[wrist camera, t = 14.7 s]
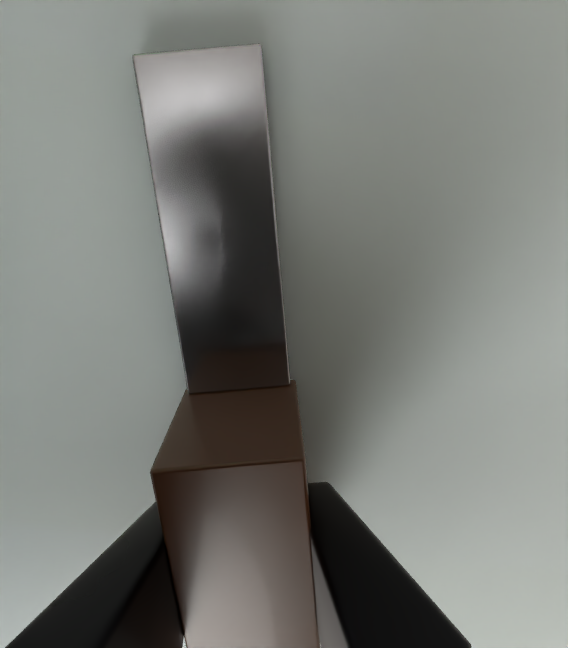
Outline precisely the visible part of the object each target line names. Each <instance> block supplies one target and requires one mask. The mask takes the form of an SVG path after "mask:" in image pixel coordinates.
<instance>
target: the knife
mask: <svg viewBox="0 0 568 648" xmlns="http://www.w3.org/2000/svg"><path fill="white" fill-rule="evenodd" d="M132 59H133V65H134V71H135V77H136V83H137V89H138V95H139V101H140V107H141V113H142V119H143V125H144V131H145V137H146V143H147V149H148V155H149V161H150V167H151V173H152V179H153V185H154V191H155V197H156V203H157V209H158V215H159V221H160V227H161V233H162V239H163V245H164V251H165V257H166V263H167V270H168V276H169V282H170V288H171V294H172V300H173V306H174V312H175V318H176V324H177V330H178V336H179V342H180V348H181V354H182V360H183V366H184V372H185V378H186V384H187V389H186V391H185V393H184V395H183V397H182V400H181V402H180V404H179V407H178V409H177V411H176V413H175V416H174V418H173V420H172V422H171V425H170V427H169V429H168V432H167V434H166V436H165V438H164V441H163V443H162V445H161V448H160V450H159V452H158V454H157V457H156V459H155V461H154V463H153V466H152V468H151V471H150V474H151V479H152V484H153V489H154V494H155V498H156V503H157V508H158V513H159V518H160V522H161V527H162V532H163V537H164V542H165V546H166V551H167V556H168V561H169V565H170V570H171V575H172V580H173V585H174V589H175V594H176V599H177V604H178V608H179V613H180V618H181V623H182V628H183V632H184V637H185V642H186V647H187V648H320V638H319V633H318V625H317V614H316V601H315V589H314V576H313V564H312V552H311V539H310V530H311V520H310V507H309V494H308V482H307V469H306V457H305V449H304V441H303V434H302V426H301V418H300V410H299V402H298V394H297V386H296V381H295V380H290V371H289V359H288V347H287V336H286V324H285V312H284V300H283V289H282V277H281V265H280V253H279V242H278V230H277V218H276V206H275V195H274V183H273V171H272V159H271V148H270V136H269V124H268V113H267V101H266V89H265V77H264V66H263V54H262V46H261V44H259V43H258V44H246V45H235V46H223V47H211V48H200V49H188V50H176V51H165V52H153V53H141V54H134V55H133V56H132Z"/></svg>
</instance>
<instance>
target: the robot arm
mask: <svg viewBox="0 0 568 648" xmlns="http://www.w3.org/2000/svg"><path fill="white" fill-rule="evenodd" d="M308 494H309V507H310V520H311V530H310V539H311V552H312V564H313V576H314V589H315V601H316V614H317V625H318V633H319V638H320V644H321V648H471V644H470V643H469V642H468V640H467V639H466V638H465V637H464V636H463V635H462V634H461V632H460V631H459V630H458V629H457V628H456V627H455V626H454V624H453V623H452V622H451V621H450V620H449V619H448V618H447V617H446V615H445V614H444V613H443V612H442V611H441V610H440V609H439V607H438V606H437V605H436V604H435V603H434V602H433V601H432V599H431V598H430V597H429V596H428V595H427V594H426V593H425V592H424V590H423V589H422V588H421V587H420V586H419V585H418V584H417V582H416V581H415V580H414V579H413V578H412V577H411V576H410V574H409V573H408V572H407V571H406V570H405V569H404V568H403V567H402V565H401V564H400V563H399V562H398V561H397V560H396V559H395V557H394V556H393V555H392V554H391V553H390V552H389V551H388V549H387V548H386V547H385V546H384V545H383V544H382V543H381V542H380V540H379V539H378V538H377V537H376V536H375V535H374V534H373V532H372V531H371V530H370V529H369V528H368V527H367V526H366V524H365V523H364V522H363V521H362V520H361V519H360V518H359V516H358V515H357V514H356V513H355V512H354V511H353V510H352V509H351V507H350V506H349V505H348V504H347V503H346V502H345V501H344V499H343V498H342V497H341V496H340V495H339V494H338V493H337V491H336V490H335V489H334V488H333V487H332V486H331V485H330V484H329V483H328V482H319V483H308ZM183 637H184V632H183V628H182V623H181V618H180V613H179V608H178V604H177V599H176V594H175V589H174V585H173V580H172V575H171V570H170V565H169V561H168V556H167V551H166V546H165V542H164V537H163V532H162V527H161V522H160V518H159V513H158V508H157V503H156V502H155V503H154V504H153V505H152V506H151V507H150V508H149V509H148V510H147V511H146V512H145V513H144V514H143V515H142V516H140V517H139V518H138V519H137V520H136V521H135V522H134V523H133V524H132V525H131V526H130V527H129V528H128V529H127V530H126V531H125V532H124V533H123V534H122V535H121V536H120V537H119V538H118V539H117V540H116V541H115V542H114V543H113V544H112V545H111V546H110V547H109V548H107V549H106V550H105V551H104V552H103V553H102V554H101V555H100V556H99V557H98V558H97V559H96V560H95V561H94V562H93V563H92V564H91V565H90V566H89V567H88V568H87V569H86V570H85V571H84V572H83V573H82V574H81V575H80V576H79V577H78V578H77V579H76V580H74V581H73V582H72V583H71V584H70V585H69V586H68V587H67V588H66V589H65V590H64V591H63V592H62V593H61V594H60V595H59V596H58V597H57V598H56V599H55V600H54V601H53V602H52V603H51V604H50V605H49V606H48V607H47V608H46V609H45V610H44V611H43V612H42V613H40V614H39V615H38V616H37V617H36V618H35V619H34V620H33V621H32V622H31V623H30V624H29V625H28V626H27V627H26V628H25V629H24V630H23V631H22V632H21V633H20V634H19V635H18V636H17V637H16V638H15V639H14V640H13V641H12V642H11V643H10V644H9V645H7V646H6V647H5V648H182V645H183Z"/></svg>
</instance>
